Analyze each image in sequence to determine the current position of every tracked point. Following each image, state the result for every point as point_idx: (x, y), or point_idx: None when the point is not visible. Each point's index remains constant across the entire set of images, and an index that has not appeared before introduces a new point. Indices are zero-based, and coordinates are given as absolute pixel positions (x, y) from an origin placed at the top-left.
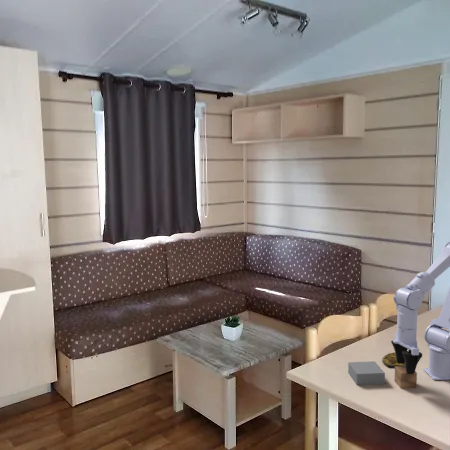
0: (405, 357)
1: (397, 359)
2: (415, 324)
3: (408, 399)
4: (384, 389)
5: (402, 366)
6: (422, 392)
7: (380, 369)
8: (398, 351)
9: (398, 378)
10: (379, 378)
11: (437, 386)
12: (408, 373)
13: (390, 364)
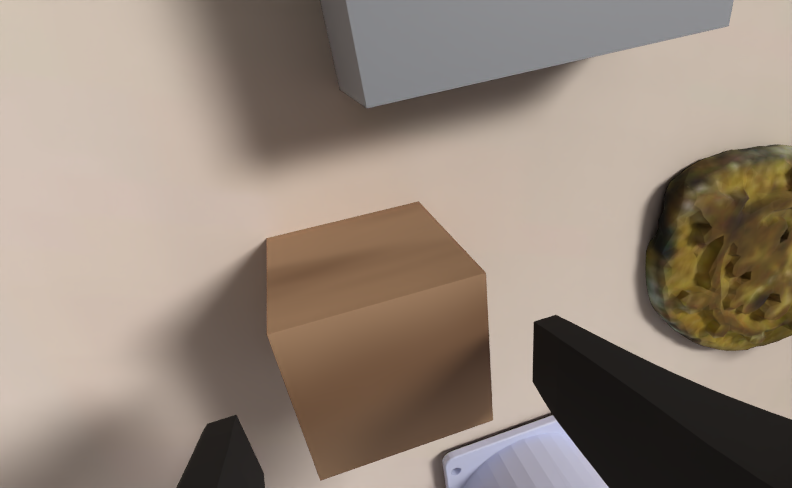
0: None
1: (574, 350)
2: None
3: (4, 291)
4: (186, 61)
5: (485, 352)
6: (224, 395)
7: (481, 59)
8: (686, 469)
9: (332, 258)
10: (334, 19)
11: (354, 469)
12: (203, 441)
13: (688, 205)
